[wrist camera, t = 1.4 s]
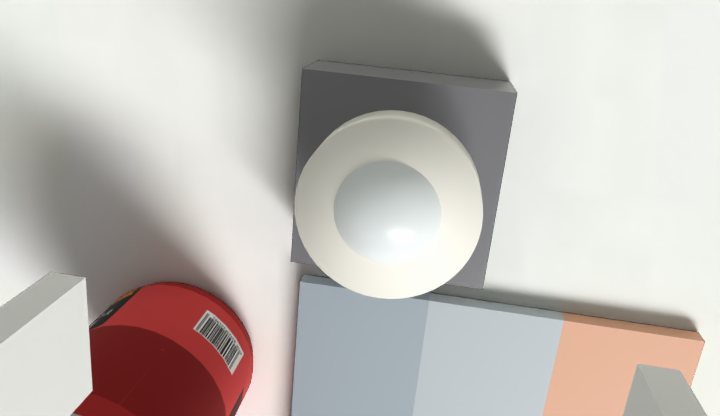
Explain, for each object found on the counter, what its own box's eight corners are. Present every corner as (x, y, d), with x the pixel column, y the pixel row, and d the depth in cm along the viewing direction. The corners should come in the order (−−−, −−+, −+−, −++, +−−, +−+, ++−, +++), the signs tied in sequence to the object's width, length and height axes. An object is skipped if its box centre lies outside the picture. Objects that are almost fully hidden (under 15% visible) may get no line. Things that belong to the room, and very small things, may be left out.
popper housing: (306, 235, 29) (290, 261, 26) (318, 60, 26) (302, 68, 24) (479, 259, 28) (482, 289, 26) (510, 81, 26) (517, 92, 23)
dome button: (314, 240, 27) (280, 300, 22) (325, 89, 25) (291, 116, 19) (465, 261, 26) (468, 328, 21) (490, 108, 24) (500, 141, 19)
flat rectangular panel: (292, 444, 33) (288, 455, 32) (303, 274, 30) (299, 281, 29) (643, 506, 31) (648, 518, 31) (698, 332, 28) (705, 341, 27)
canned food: (117, 258, 31) (-49, 390, 21) (272, 302, 31) (180, 461, 20) (103, 383, 34) (-51, 556, 23) (245, 426, 33) (151, 621, 23)
